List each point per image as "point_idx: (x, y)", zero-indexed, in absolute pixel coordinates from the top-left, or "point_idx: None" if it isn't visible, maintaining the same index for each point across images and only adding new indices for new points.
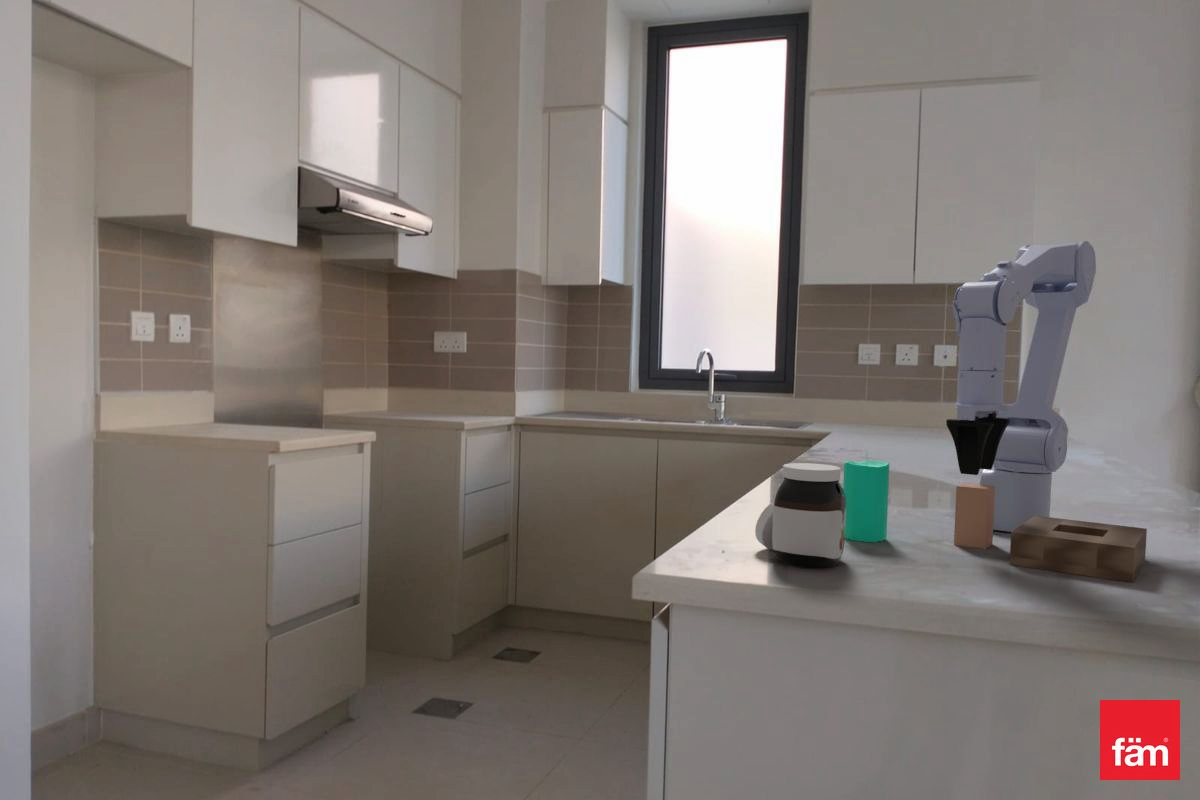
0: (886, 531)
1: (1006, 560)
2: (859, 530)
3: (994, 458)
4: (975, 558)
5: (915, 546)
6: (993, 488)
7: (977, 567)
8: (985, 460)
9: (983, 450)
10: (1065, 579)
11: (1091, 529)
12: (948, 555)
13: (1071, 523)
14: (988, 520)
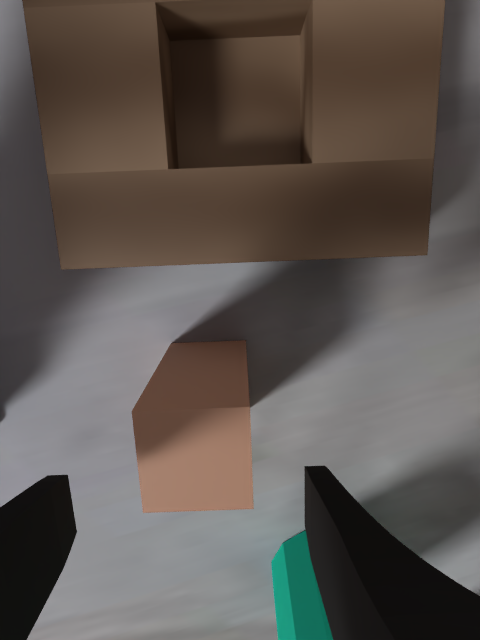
0: (307, 545)
1: (345, 267)
2: None
3: (24, 500)
4: (373, 328)
5: (333, 463)
6: (159, 406)
7: (470, 298)
8: (52, 525)
9: (342, 531)
10: (473, 101)
11: (161, 64)
12: (381, 382)
13: (120, 139)
14: (222, 364)
